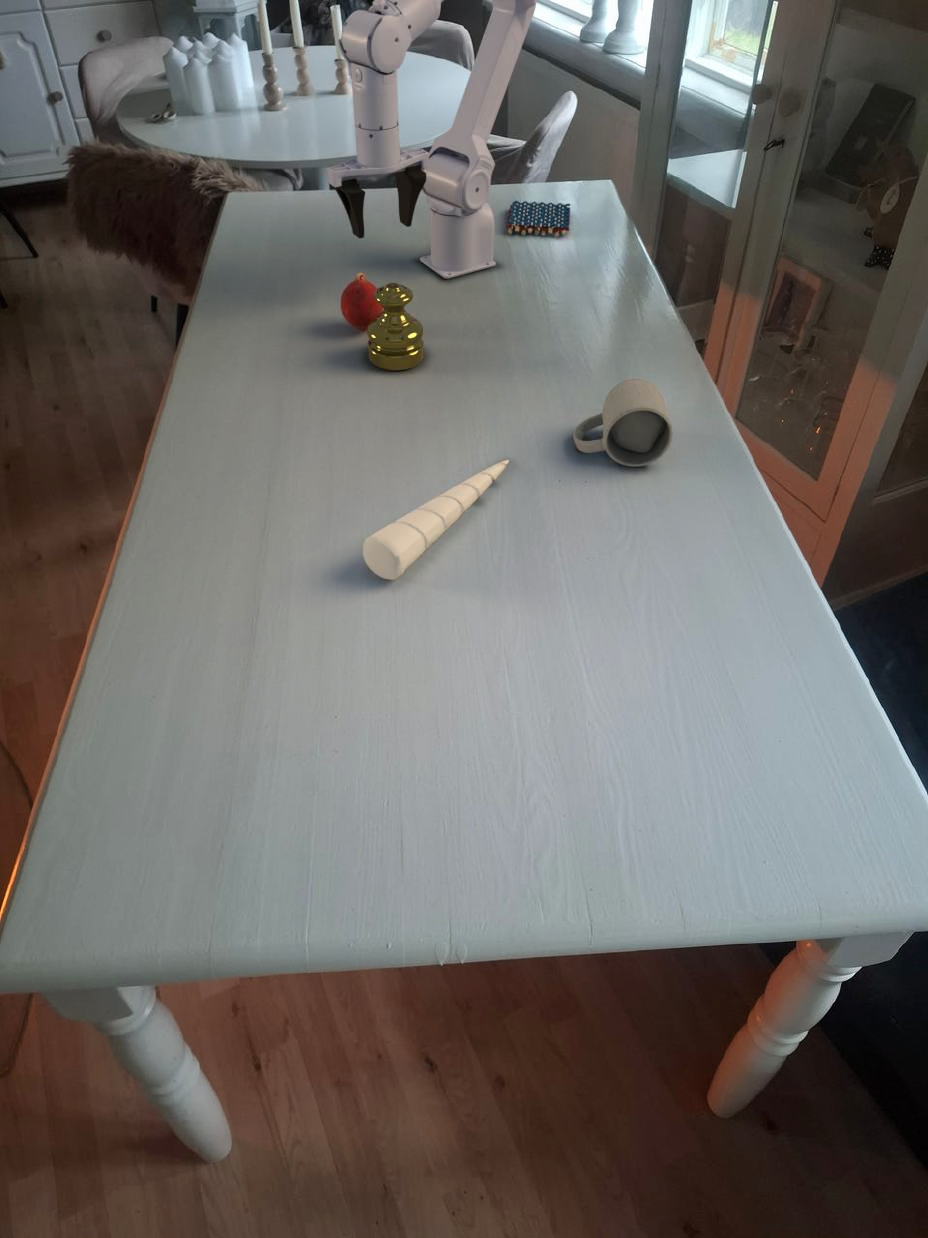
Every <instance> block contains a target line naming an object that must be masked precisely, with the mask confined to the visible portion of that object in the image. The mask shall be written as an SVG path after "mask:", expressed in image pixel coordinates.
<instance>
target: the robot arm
mask: <svg viewBox="0 0 928 1238" xmlns="http://www.w3.org/2000/svg"><path fill="white" fill-rule="evenodd" d="M444 1H445V0H373V1H372V5H371V6H370V7H369V8H368V10H365V9H357V10H355V11H353V12H352V13H351V14H349V16H348V17H347V18H346V19H345V21H344V23H343V26H342V29H341V35H340V38H339V39H338V40H337V42H338V43H337V44H338V49H339V51H340V53H341V56H342V57H343V59H344V60H345V62H346V64H347V72H348V76H349V77H350V80H351V89H352V104H353V117H354V118H353V119H354V130H355V131H354V133H355V134H354V135H355V146H356V147H355V148H356V157H354V158H350V159H347V160H346V161H343V162H341V163H338V164H336V165H333V166H328V167H326V172H327V173H326V174H327V182H328V184H330V185H331V186H332V188H333V189H334V190H335V192H336V194H337V196H338V197H339V199H340V200H341V203H342V205H343V207H344V210H345V212H346V215H347V217H348V220H349V224H350V227H351V231H352V234H353V235H354V236H355V237H356V238H358V239H363V238H365V220H364V219H365V218H364V206H365V198H366V197H365V196H366V190H364V189H363V188H360V183H358V181H362V180H367V179H371V178H377V177H382V176H386V175H390V174H394V177H395V183H396V189H397V198H398V199H397V200H398V217H399V222H400V223H401V224H402V225H403V226H405V227H406V228H410V227H412V223H413V217H414V213H415V209H416V207H417V206H416V205H417V202H418V199H419V197H420V194H421V192H422V193H423V194H424V195H426V204H429V206H430V207H429V211H430V220H429V221H430V223H429V224H430V254H428V255H424V256H420V258H419V260H420V262H421V263H423V264H424V265H425V266H427V267H428V268H429V269H431V270H432V271H433V272H435V273H436V274H438V275H439V276H440V277H442V278H443V279H445V280H448V279H453V278H456V277H460V276H463V275H467V274H472V273H475V272H478V271H482V270H485V269H488V268H493V267H496V265H497V263H496V261H495V260H494V247H495V216H494V213H493V210H492V208H491V206H490V204H489V203H488V202H487V199H488V198H489V194H490V191H491V181H492V176H493V171H494V169H495V166H496V163H495V161H494V159H493V155H492V154H491V152H490V150H489V148H488V146H487V143H488V140H489V137H490V135H491V133H492V129H493V127H494V124H495V121H496V119H497V115H498V113H499V111H500V108H501V106H502V102H503V100H504V97H505V95H506V91H507V88H508V86H509V83H510V80H511V77H512V74H513V72H514V69H515V66H516V64H517V62H518V59H519V55H520V53H521V50H522V47H523V45H524V42H525V39H526V36H527V33H528V31H529V27H530V26H531V23H532V19H533V17H534V14H535V12H536V7H537V1H538V0H490V1H491V4H492V11H491V14H490V17H489V18H488V19H489V20H488V22H487V25H486V28H485V30H484V34H483V37H482V39H481V42H480V45H479V48H478V51H477V53H476V57H475V60H474V63H473V64H472V68H471V71H470V73H469V77H468V78H467V79H468V80H467V82H466V85H465V88H464V90H463V91H464V92H463V94H462V97H461V100H460V103H459V106H458V108H457V111H456V113H455V117H454V119H453V123H452V125H451V128H450V129H448V130H447V131H445V132H443V133H442V134H440V135H438V136H437V137H435V139H433V143H432V145H431V148H430V150H429V152H428V151H427V150H425V149H424V148H417V149H416V148H415V149H407V150H406V149H405V150H400V147H401V146H400V124H399V123H400V121H399V96H398V95H399V94H398V70H399V69H400V68H401V66H402V65H403V63H404V61H405V58H406V55H407V51H408V49H409V48H410V47H411V44H412V43H413V42H414V41H415V40H416V39H417V38H419V37H420V36H421V35H422V33H424V32H425V31H426V30H427V29H429V28H430V27H431V26H432V25H433V24H434V23H435V22H436V21H438V19H439V17H440V14H441V6H442V3H443V2H444ZM461 158H462V159H461ZM464 159H465V160H464Z"/></svg>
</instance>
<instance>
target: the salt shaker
mask: <svg viewBox="0 0 928 1238" xmlns="http://www.w3.org/2000/svg"><path fill="white" fill-rule="evenodd" d="M413 298H414V293H413V291H412V289H410V288H409V287H408V286H405V285H403V284H399V283H397V282H389V283H387V284H384V285H382V286H380V287H377V290H376V291H375V292H374V299H375V301H376V302H377V303H379V304H380V305H382V306H383V312H382V313H380V314H379V315H378V316H377V317H376V318H374V319H373V320H372V321H371V322H370V323H369V324H368V326H367V330H366V335H367V338H368V341H367V347H368V358H369V361H370V362H371V363H372V364H373V366H375V367H377V368H379V369H382V370H385V371H394V372H395V371H396V372H397V371H404V370H410V369H412V368H414V367H417V366H418V365H419V364H420V363H421V362H422V360H423V359H424V340H423V336H424V325H422V323H421V322H420V320H419V319H418V318H416V317H414V316H412V315H411V314H410V313H408V312H407V310H405V308H406V306H407V305H408V304H409V303H410V302H411V301H413Z"/></svg>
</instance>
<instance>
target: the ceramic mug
mask: <svg viewBox="0 0 928 1238" xmlns="http://www.w3.org/2000/svg"><path fill="white" fill-rule="evenodd" d="M669 415H670V414H669V412H668V409H667V406H666V403H665V399H664V397H663V394H662V393H661V392H660V391H659V389H658V388H657V387H656V386H655V385H654V384H653V383H651V382H649V381H647V380H643V379H640V378H639V379H637V378H636V379H627V380H624V381H621V382H620V383H618V384H616V385H615V386H614V387H613V388H611V390H609V392H608V394H607V395H606V397H605V399H604V402H603V407H602V410H601V413H598V414H594V415H592V416H590V417H588V418H586V419H584V420H582V421H581V422H580V423H579V424H578V425H577V426H576V427H575V429H574V432H573V442H574V443H575V446H576V449H577V450H579V451H580V452H582V453H585V454H594V453H600V452H603V451H604V452H605V451H606V454H607V455H608V456H609V457H610V458H611V460H613V461H614V462H615V463H618V464H619V465H623V466H625V467H632V468H633V467H634V468H637V467H644V466H647V465H650V464H652V463H655V462H656V461H658V460H659V459H661V458H662V457H663V456H664V455H665V453H666V452H667V451H668V449H669V448H670V446H671V443H672V439H673V434H674V431H673V430H674V429H673V424H672V421H671V419H670V416H669ZM600 426H602V437H601V438H599V439H592V440H583V438H584V437H585V434H587V433H588V432H589V431H591V430H593V429H595V428H598V427H600Z"/></svg>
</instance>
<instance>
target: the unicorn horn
mask: <svg viewBox="0 0 928 1238" xmlns="http://www.w3.org/2000/svg"><path fill="white" fill-rule="evenodd" d="M509 462H510V460H509V459H506V460H502V461H499V462H498V463H495V464H493V465H491V466H490V467H488V468H486V469H483V470H482V471H480V472H478V473H476V474H474V475H473V476H471V477H469V478H467V479H466V480H464V481H462V482H460V483H459V484H457V485H455V486H453V487H451V488H450V489H448V490H446V491H444V492H443V493H441V494H439V495H438V496H436V497H434V498H432V499H431V500H429V501H426V502H425V503H424V504H422V505H420V506H419V507H417V508H416V509H414V510H411V511H410V512H408V513H407V514H405V515H403V516H402V517H400V518H398V519H397V520H395V521H393V522H392V523H390V524H388V525H386V526H385V527H383V528H381V529H379V530H378V531H375V532H374V533H373V534H371V535H369V537H367V538H366V539H365V541H364V543H363V546H362V557H363V559H364V563H366V565H367V566H368V568H369V570H371V571H372V572H373V573H374V574H375V575H376V576H378V577H379V578H382V579H384V580H391V581H393V580H395V579H397V578H399V577H401V576H402V575H403V574H404V573H405V571H406V570H407V569H408V568H410V566H412V564H414V563H415V561H416V560H418V559H419V558H420V557H421V556H422V555H423V554H424V553H425V551H426V550H428V549H429V548H430V547H431V546H432V545H433V544H434V543H435V542H436V541H437V540H438V539H439V538H440V537H441V536H442V535H443V534H444V532H445V531H447V530H448V529H449V528H450V527H451V526H452V525H453V524H454V523H456V521H457V520H458V519H459V518H460V517H461V516H462V514H464V513H465V512H466V511H467V510H468V509H469V508H470V507H471V506H472V505H473V504H474V503H475V502H476V501H477V500H478V497H479V498H480V496H482V494H483V493H484V492H486V490H487V489H488V488H489V487H490V486H491V485H492V484H493V480H494V481H495V480H496V479H497V478H498V477H499V476H500V475H501V473H502V472H503V471H504V470H505V469H506V467H507V465H508V464H509Z"/></svg>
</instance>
